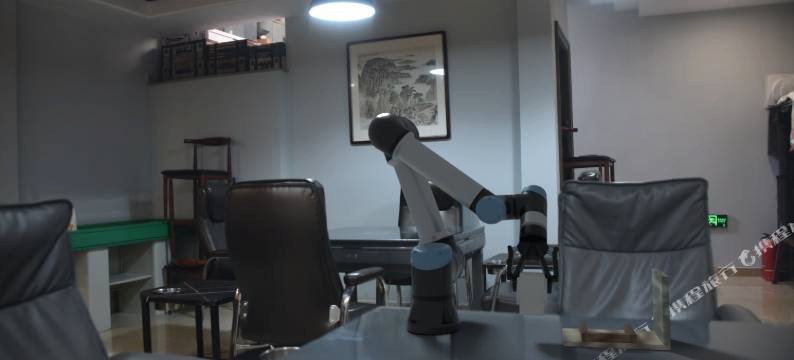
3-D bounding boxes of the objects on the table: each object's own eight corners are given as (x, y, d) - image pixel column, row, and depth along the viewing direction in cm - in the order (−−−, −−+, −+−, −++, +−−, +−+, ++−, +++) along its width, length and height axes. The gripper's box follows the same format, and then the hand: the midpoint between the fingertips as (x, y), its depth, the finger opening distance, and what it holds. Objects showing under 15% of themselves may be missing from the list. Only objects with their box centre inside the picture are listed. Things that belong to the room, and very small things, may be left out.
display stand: (564, 346, 140) (561, 275, 140) (562, 332, 152) (560, 267, 152) (671, 350, 133) (668, 276, 134) (660, 336, 146) (657, 268, 146)
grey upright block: (519, 314, 145) (519, 275, 145) (520, 309, 151) (520, 271, 151) (544, 316, 143) (544, 276, 143) (544, 311, 149) (544, 272, 149)
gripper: (568, 241, 159) (570, 313, 144) (499, 239, 164) (494, 308, 148) (569, 223, 154) (571, 295, 138) (497, 222, 159) (492, 291, 143)
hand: (531, 302), depth 143 cm, fingers closed on grey upright block, 6 cm apart
